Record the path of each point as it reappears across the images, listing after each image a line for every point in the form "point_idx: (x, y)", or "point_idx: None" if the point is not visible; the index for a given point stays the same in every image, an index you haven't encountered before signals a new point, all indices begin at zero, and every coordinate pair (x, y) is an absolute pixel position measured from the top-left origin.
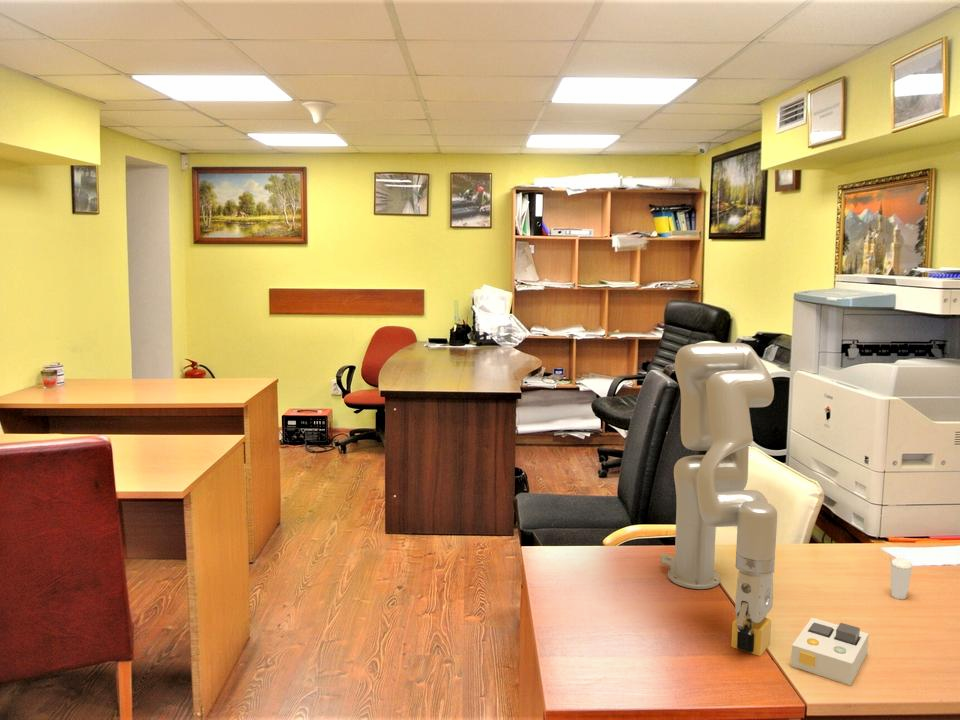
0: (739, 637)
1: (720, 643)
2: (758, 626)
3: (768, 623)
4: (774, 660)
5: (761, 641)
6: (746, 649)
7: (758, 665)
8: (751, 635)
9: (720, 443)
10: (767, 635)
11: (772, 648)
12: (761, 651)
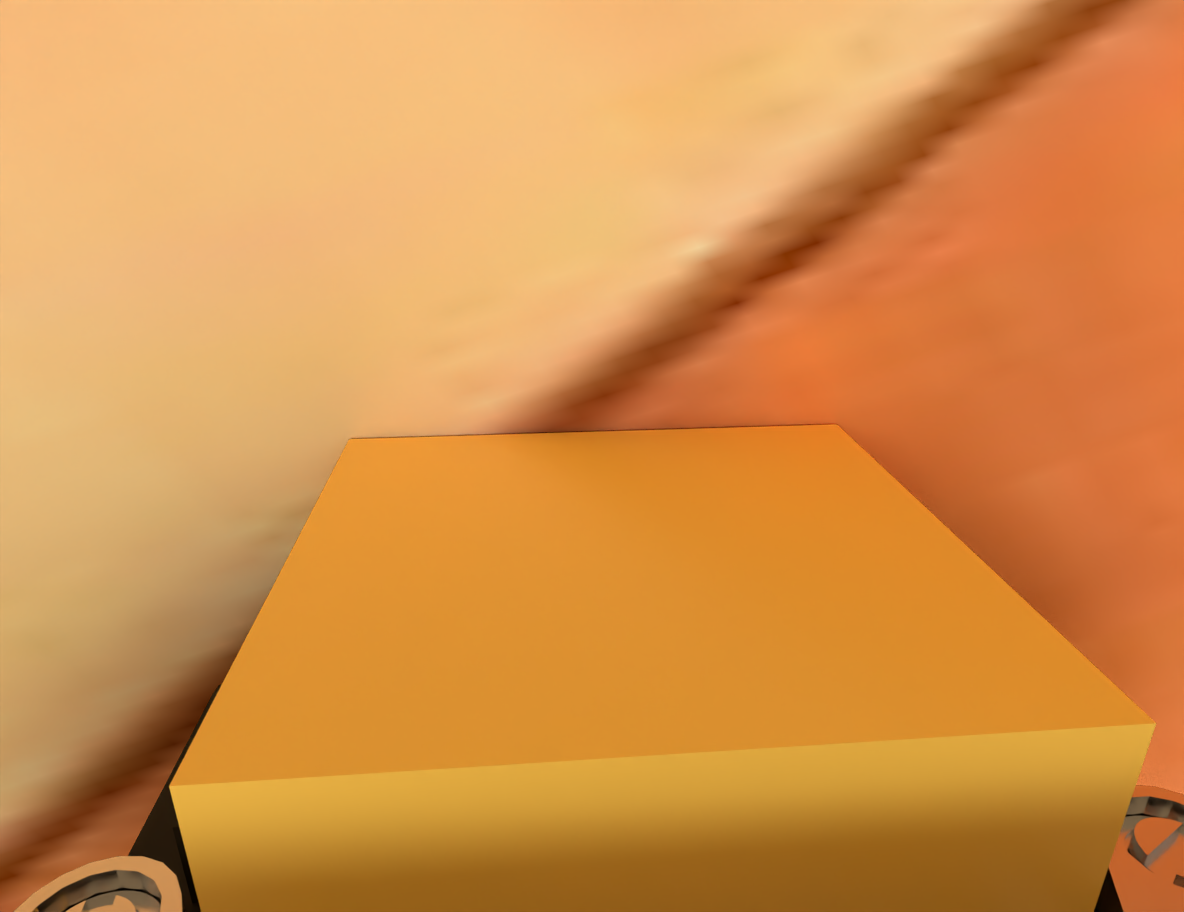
0: None
1: None
2: (907, 871)
3: (478, 748)
4: (843, 194)
5: (943, 544)
6: None
7: (1117, 353)
8: (1135, 787)
9: None
10: (518, 543)
11: (461, 355)
12: (809, 448)
